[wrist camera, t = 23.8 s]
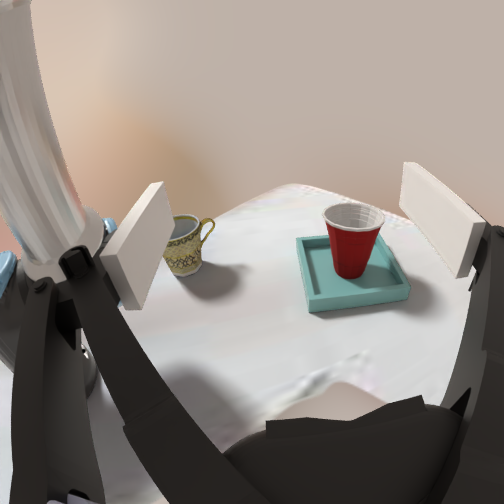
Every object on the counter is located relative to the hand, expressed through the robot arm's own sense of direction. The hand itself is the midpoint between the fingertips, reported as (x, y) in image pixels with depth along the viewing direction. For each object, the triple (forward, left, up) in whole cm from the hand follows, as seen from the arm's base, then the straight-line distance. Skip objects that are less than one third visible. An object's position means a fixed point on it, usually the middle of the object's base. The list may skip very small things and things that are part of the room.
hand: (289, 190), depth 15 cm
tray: (+13, +28, -30) cm, 43 cm away
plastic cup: (+13, +28, -29) cm, 42 cm away
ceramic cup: (-18, +35, -30) cm, 49 cm away
